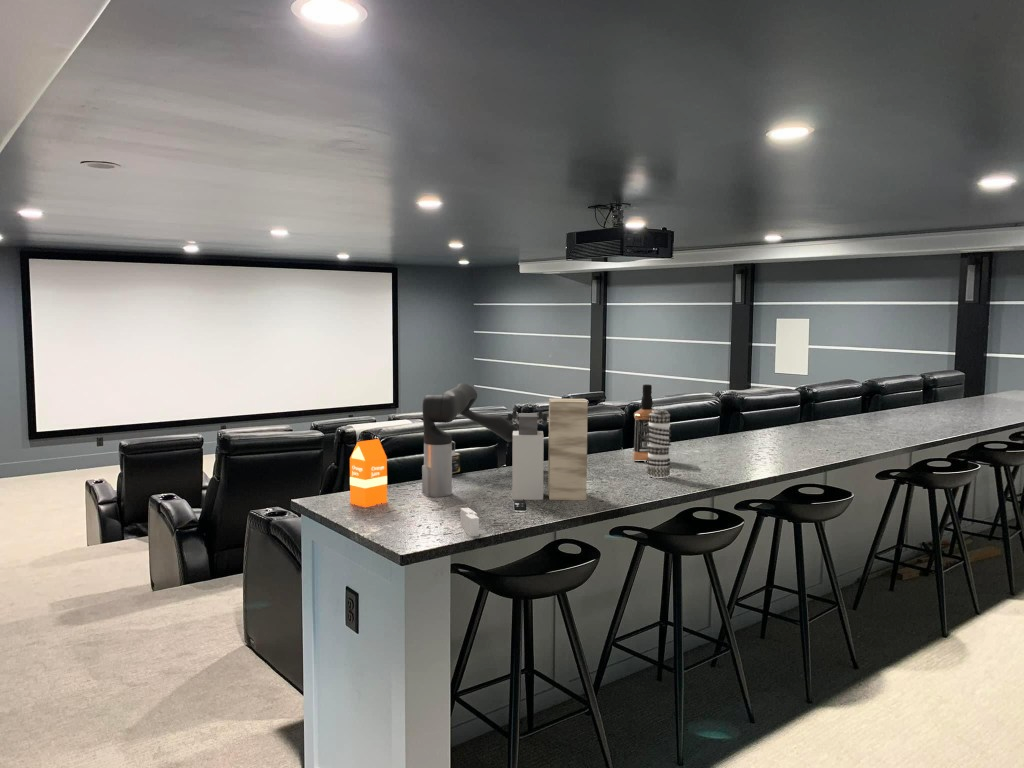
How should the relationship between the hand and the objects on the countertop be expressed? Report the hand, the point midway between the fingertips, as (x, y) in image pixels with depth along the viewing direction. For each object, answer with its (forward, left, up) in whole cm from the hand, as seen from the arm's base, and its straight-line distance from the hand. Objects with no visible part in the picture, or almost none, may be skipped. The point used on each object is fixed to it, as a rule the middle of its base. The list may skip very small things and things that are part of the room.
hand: (527, 411), depth 259 cm
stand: (+3, -23, -26) cm, 35 cm away
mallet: (-6, -13, -5) cm, 15 cm away
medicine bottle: (-20, +31, -26) cm, 45 cm away
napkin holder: (-41, -49, -26) cm, 69 cm away
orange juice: (-59, -6, -26) cm, 64 cm away
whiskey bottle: (+65, +22, -26) cm, 74 cm away
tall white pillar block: (-8, -18, -26) cm, 32 cm away
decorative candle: (+50, -8, -26) cm, 57 cm away
